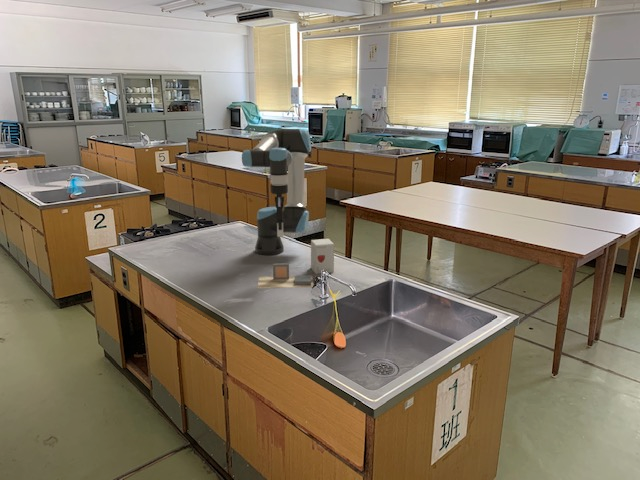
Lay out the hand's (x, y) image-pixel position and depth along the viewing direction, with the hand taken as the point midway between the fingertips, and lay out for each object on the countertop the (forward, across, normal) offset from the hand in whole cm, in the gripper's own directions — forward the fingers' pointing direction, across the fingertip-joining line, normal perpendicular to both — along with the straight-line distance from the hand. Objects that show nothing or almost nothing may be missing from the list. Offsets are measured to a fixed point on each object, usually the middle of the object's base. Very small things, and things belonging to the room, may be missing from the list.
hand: (280, 236), depth 220 cm
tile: (+18, +7, 0) cm, 19 cm away
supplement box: (+19, -3, +19) cm, 27 cm away
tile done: (+18, +12, +10) cm, 23 cm away
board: (+19, +11, +2) cm, 22 cm away
